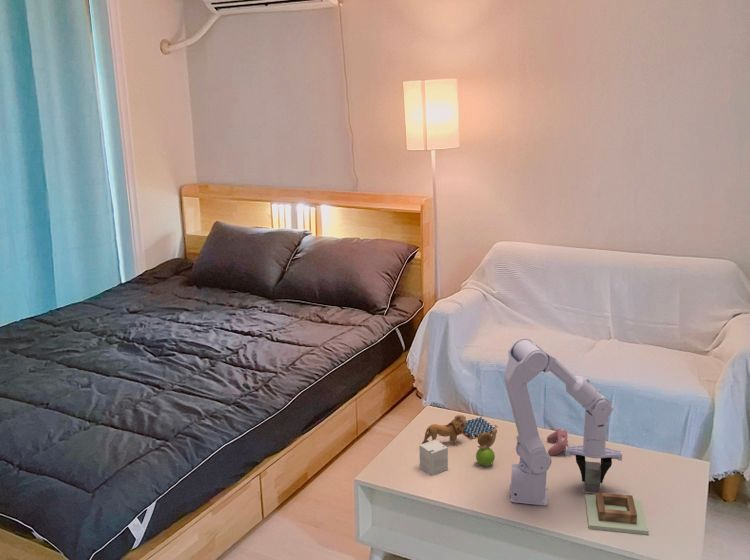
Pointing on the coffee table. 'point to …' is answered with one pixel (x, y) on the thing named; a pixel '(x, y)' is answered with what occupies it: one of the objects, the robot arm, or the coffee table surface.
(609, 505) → the socket block
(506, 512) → the coffee table surface
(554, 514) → the coffee table surface
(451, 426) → the lion figurine
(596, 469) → the grey brown rectangular block
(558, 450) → the video game controller
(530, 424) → the robot arm
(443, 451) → the skincare box
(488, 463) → the animal on green ball
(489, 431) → the woven mat
